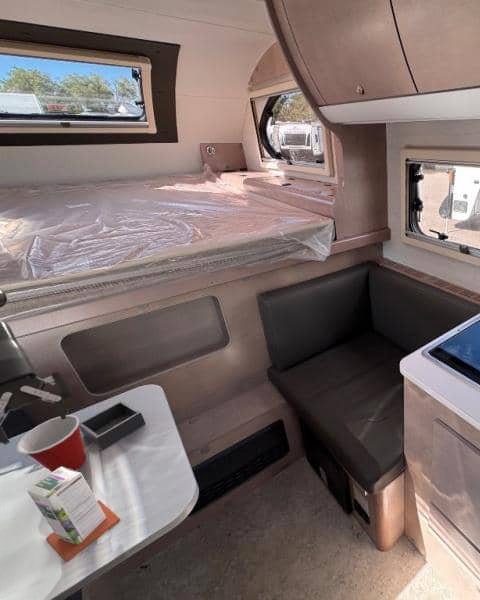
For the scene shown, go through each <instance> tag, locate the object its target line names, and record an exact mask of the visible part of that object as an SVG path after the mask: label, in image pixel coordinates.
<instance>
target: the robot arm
mask: <svg viewBox="0 0 480 600" xmlns="http://www.w3.org/2000/svg"><path fill="white" fill-rule="evenodd" d="M7 302H8V295H7V294H6V292H5V291H4V289H2V288H1V287H0V309H2V308H3V307H4V306H5V305H7ZM46 384H50V385H51V386H57V387H58V388H59V390H60V392H61V393H60V394H58V395H56V394H53V393H51V392H48V391H45V390H44V388H45V386H46ZM72 394H73V393H72V390H71V389H70V388H69V386H68V384H67V383H66V382H65V380H64V379H63V377H62V376H61V374H60V373H59V372H57V371H56V372H52V374H51V375H49V376H47V377H45V378H40V377H39V375H38V374H37V372H36V369H35V368H34V365H33V364H32V362H31V361H30V359H29V356H28V354H27V353H26V351H25V350H24V348H23V347H22V345H21V344H20V343H19V341H18V339H17V338H16V335H15V334H14V332H13V330H12V328H11V326H10V325H9V324H8V322H6V321H5V320H2V319H0V445H1V444H3V445H4V446H6V445H8V444H10V443H11V442H10V440H9V438H8V436H7V433H6V431H5V429H4V427H3V426H2V424H3V421H4V420H5V419H6V418H7V416H8V415H9V412H10V411H11V412H12V411H15V412H16V411H17V410H18V411H19V410H20V409H21V408H24V407H26V406H31V405H33V404H35V403H36V402H37V401H38V400H39V401H43V402H48V403H52V404H53V405H54V407H55V410H57V413H58V415H59V417H61V419H62V420H64V419H66V416H67V415H70V414H69V413H70V412H69V410H68V408H67V407H66V405H65V400H67V399H68V398H71V397H72V396H73V395H72Z"/></svg>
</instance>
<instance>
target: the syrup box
mask: <svg viewBox="0 0 480 600" xmlns="http://www.w3.org/2000/svg"><path fill="white" fill-rule="evenodd" d="M27 494H28V495H29V496H30V498H31V499H32V501H33V502H34V504H35V505H36V507H37V508H38V510H39V512H40V513H41V515H42V516H43V517H44V519H45V520H46V522H47V523H48V525H49V527H50V528H51V530H52V531H53V532H55V533H56V535H57V536H58V537H59V538H61V539H63V540H65V541H68V542H70V543H73V544H76V545H79V544H80V543H81V542H82V541H83V540H84V539H85V538H86V537H87V536H88V535H89V534H91V533H92V532H93V531H94V530H95V529H96V528H97V527H98V526H99V525H100V524H101V523H102V522H103V521H104V520H105V519H106V516H105V514H104V512H103V511H102V509H101V507H100V505H99V503H98V502H97V501H98V499H97V498H96V496H95V494H94V493H93V491H92V490H91V488H90V485H89V484H88V482H87V480H86V478H85V477H84V474H82V472H79V471H77V470H76V471H74V470H71V469H68V468H65V467H60V468H58V469H56V470H55V471H53V472H50V473H49V474H47V475H46V476H44V477H43V478H41V479H40V480H39V481H37V482H36V483H35V484H34V485H32V486H31V487H30V488H28V489H27Z"/></svg>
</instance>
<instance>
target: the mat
mask: <svg viewBox="0 0 480 600" xmlns="http://www.w3.org/2000/svg"><path fill="white" fill-rule="evenodd" d="M97 502H98V503H99V505H100V507H101V509H102V511H103V512H104V514H105V516H106V519H105V520H104V521H103V522H102V523H101V524H100V525H99V526H98V527H97V528H96V529H95V530H94V531H93V532H92V533H91V534H89V535H88V536H87V537H86V538H85V539H84V540H83V541H82V542H81V543H80V544H79V545H76V544H73V543H70V542H68V541H65V540H63V539H61V538H59V537H58V536H57V535H56V533H55V532H54V531H53V532H52V533H50V534H49V535H47V537H45V540H46V541H47V542H48V543H49V544H50V545H51V547H52V548H53V549H54V550H55V551H56V552H57V553H58V554H59V555H60V556H61V558H62V559H63V560H64V561H65V562H66V563H68V562H69V561H70V560H72V559H74V557H76V556H77V555H78V554H79V553H81V552H82V551H83V550H85V549H86V548H87V547H88V546H90V544H92V543H93V542H94V541H96V540H97V539H98V538H100V536H102V535H103V534H104V533H105V532H107V531H108V530H109V529H111V528H112V527H113V526H114V525H116V524H117V523H118V522H120V520H121V518H120V517H119V516H118V515H117V514H115V513H114V512H113V511H112V510H111V509H110V508H109V507H108V506H106V505H105V504H104V503H103V502H102V501H101V500H100V499H97Z"/></svg>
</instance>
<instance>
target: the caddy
mask: <svg viewBox="0 0 480 600" xmlns="http://www.w3.org/2000/svg"><path fill="white" fill-rule="evenodd" d="M125 415H126V416H128V418H125V419H124V420H122V421H121V422H119V423H118V424H116V425H114V426H113V427H110V428H109V429H107V430H106V431H104V432H102V433H101V434H98V433H96V432H97V431H98V430H100V429H102V428H104V427H105V426H107V425H109V424H110V423H112V422H114V421H115V420H117V419H119V418H121V417H123V416H125ZM144 426H146V421H145V419H144V416H143V414H142V412H141V411H140V410H138V409H137V408H135V407H133V406H131V405H130V404H128V403H127V402H125V401H123V400H120V401H118V402H115V403H114V404H112V405H110V406H107V408H105V409H103V410H101V411H99V412H97V413H95V414H93V415H92V416H90V417H88V418H86V419H84V420H83V421H80V422H79V429H80V432H81V433H82V436H83V437H84V438H86V439H88V441H90V442H91V443H93V445H95V446H96V447H98V448H99V449H100V450H102V451H105V450H107V449H109V447H111V446H113V445H114V444H117V443H118V442H120V441H121V440H123V439H125V438H126V437H127V436H129V435H131V434H132V433H134V432H135V431H137V430H138V429H140V428H142V427H144Z"/></svg>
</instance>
